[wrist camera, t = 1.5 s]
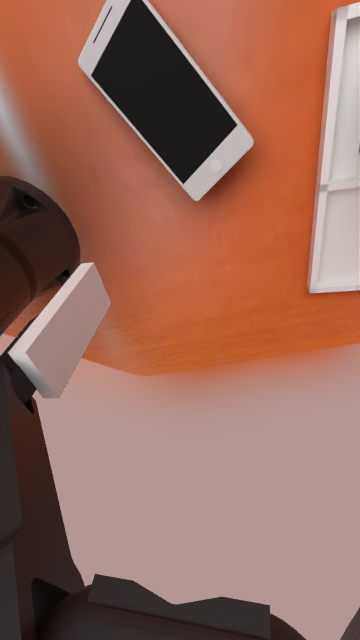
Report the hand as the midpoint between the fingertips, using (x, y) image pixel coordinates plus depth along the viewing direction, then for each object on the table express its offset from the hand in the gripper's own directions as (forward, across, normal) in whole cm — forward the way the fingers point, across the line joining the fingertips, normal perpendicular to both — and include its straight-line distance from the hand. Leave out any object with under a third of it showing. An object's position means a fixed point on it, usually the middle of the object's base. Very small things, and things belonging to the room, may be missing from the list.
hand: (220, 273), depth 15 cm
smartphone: (+19, 0, 0) cm, 19 cm away
